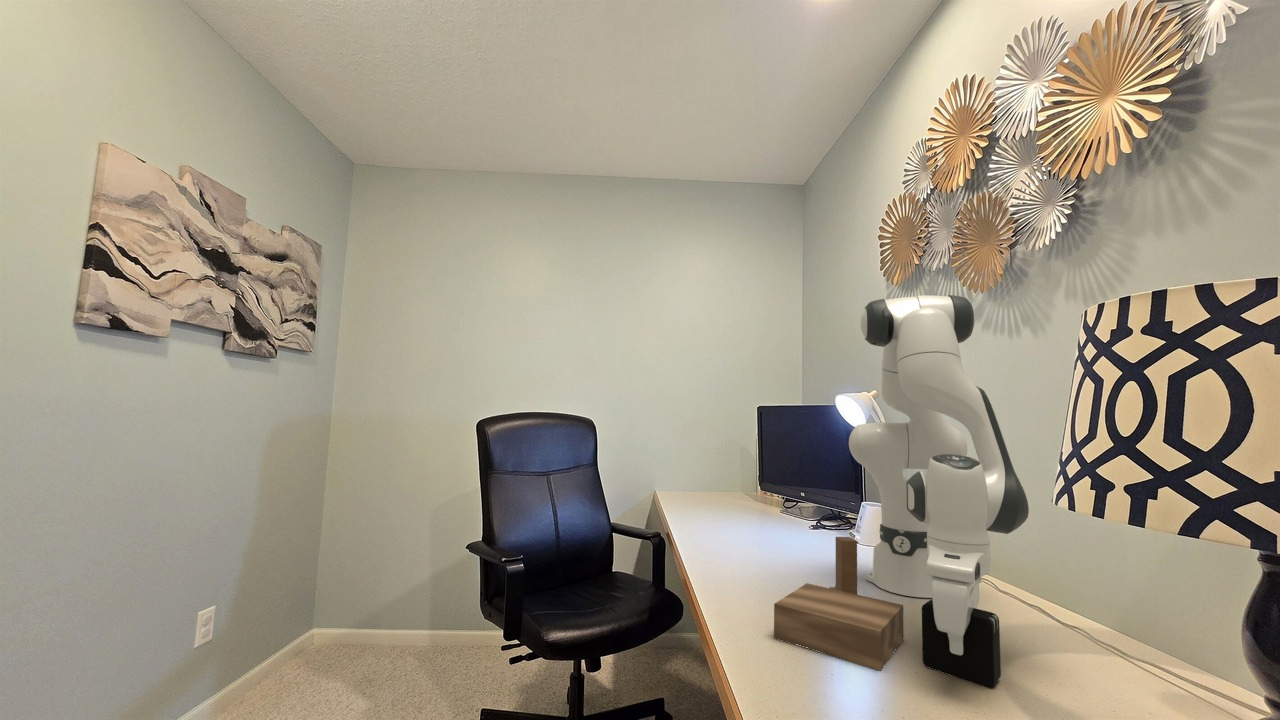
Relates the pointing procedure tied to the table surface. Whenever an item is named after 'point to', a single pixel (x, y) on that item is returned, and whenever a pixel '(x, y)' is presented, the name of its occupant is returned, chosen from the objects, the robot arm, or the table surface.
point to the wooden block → (846, 565)
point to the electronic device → (978, 653)
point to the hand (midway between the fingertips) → (960, 646)
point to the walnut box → (840, 624)
